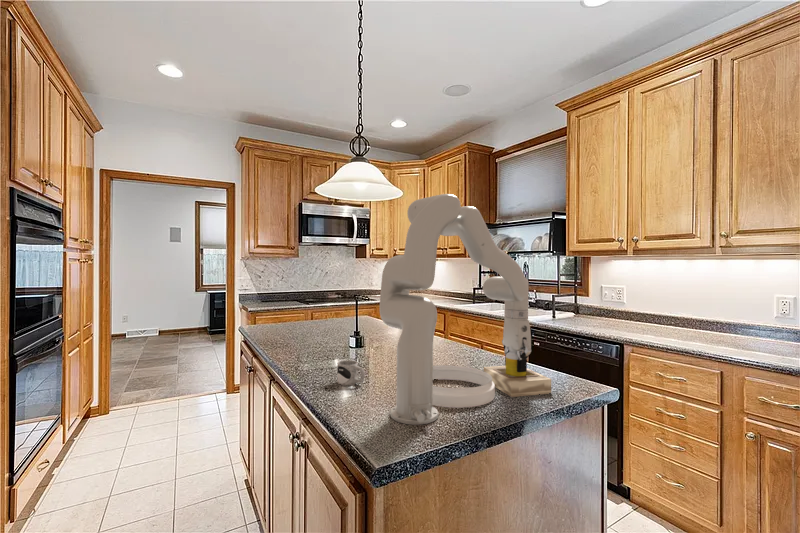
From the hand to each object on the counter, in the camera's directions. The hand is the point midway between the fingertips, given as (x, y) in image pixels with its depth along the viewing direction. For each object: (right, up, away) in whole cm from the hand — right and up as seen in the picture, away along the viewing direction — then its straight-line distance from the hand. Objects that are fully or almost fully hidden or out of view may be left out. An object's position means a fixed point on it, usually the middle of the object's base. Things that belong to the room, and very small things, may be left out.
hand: (515, 368), depth 129 cm
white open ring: (-22, -6, -6) cm, 24 cm away
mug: (-54, -6, +2) cm, 55 cm away
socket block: (0, -6, 0) cm, 6 cm away
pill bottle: (0, -4, 0) cm, 4 cm away
